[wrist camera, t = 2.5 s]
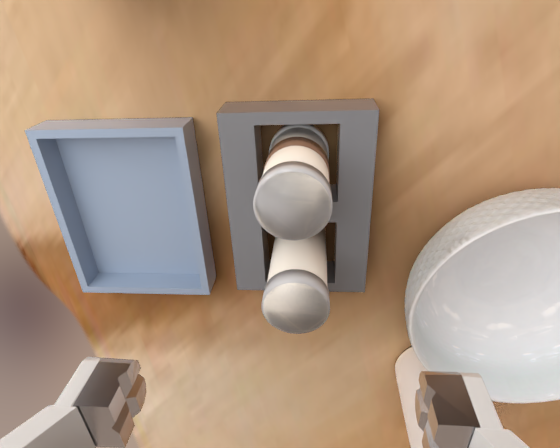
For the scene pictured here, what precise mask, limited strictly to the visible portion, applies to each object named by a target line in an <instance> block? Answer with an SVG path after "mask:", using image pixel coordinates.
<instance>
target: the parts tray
mask: <svg viewBox="0 0 560 448" xmlns="http://www.w3.org/2000/svg"><path fill="white" fill-rule="evenodd" d="M25 133H26V135H27V138H28V141H29V144H30V146H31V149H32V152H33V155H34V157H35V160H36V163H37V166H38V169H39V171H40V174H41V177H42V180H43V182H44V185H45V188H46V191H47V194H48V196H49V199H50V202H51V205H52V207H53V210H54V213H55V216H56V218H57V221H58V224H59V227H60V230H61V232H62V235H63V238H64V241H65V243H66V246H67V249H68V252H69V254H70V257H71V260H72V263H73V266H74V268H75V271H76V274H77V277H78V279H79V282H80V285H81V288H82V290H83V292H97V293H145V294H194V295H210V293H211V290H212V287H213V284H214V282H215V279H216V270H215V264H214V257H213V250H212V244H211V237H210V230H209V223H208V217H207V210H206V203H205V197H204V190H203V183H202V176H201V170H200V163H199V156H198V150H197V143H196V136H195V129H194V123H193V117H185V118H137V119H88V120H46V121H44V122H42V123H39V124H37V125H35V126H33V127H31V128H29V129H27V130H25Z"/></svg>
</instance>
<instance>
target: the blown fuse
mask: <svg viewBox="0 0 560 448" xmlns="http://www.w3.org/2000/svg"><path fill="white" fill-rule="evenodd" d="M328 160H329V147H328V141H327V138H326V136H325V135H324V133H323V132H322V131H321V130H320V129H319V128H318V127H317V126H315V125H314V124H297V125H283V126H282V127H281V128H279V129H278V130H277V132H276V133H275V134H274V136H273V138H272V141H271V144H270V148H269V154H268V156H267V160H266V163H265V166H264V170H263V175H262V177H261V179H260V180H259V183H258V185H257V189H256V192H255V195H254V199H253V209H254V213H255V216H256V219H257V221H258V222H259V224H260V225H261V226H262V227H263V228H264V229H265V230H266V231H267V232H268V233H270V234H271V235H273V236H275V237H278V238H281V239H284V240H292V241H296V240H304V239H307V238H310V237H312V236H314V235H316V234H317V233H319V232H320V231H321V230H322V229H323V228H324V227H325V226H326V225H327V223H328V221H329V220H330V217H331V214H332V207H333V206H332V192H331V187H330V184H329V179H330V174H329V161H328Z"/></svg>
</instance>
